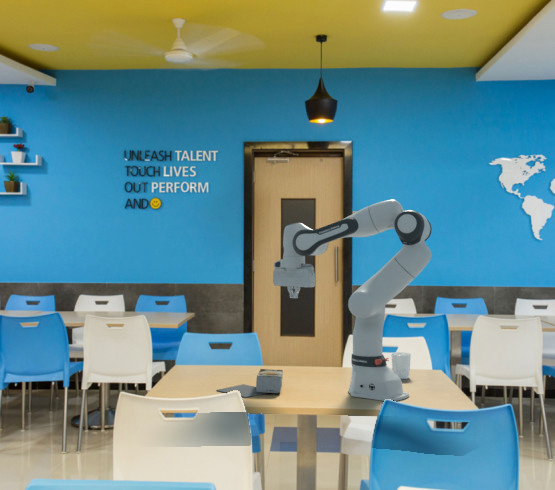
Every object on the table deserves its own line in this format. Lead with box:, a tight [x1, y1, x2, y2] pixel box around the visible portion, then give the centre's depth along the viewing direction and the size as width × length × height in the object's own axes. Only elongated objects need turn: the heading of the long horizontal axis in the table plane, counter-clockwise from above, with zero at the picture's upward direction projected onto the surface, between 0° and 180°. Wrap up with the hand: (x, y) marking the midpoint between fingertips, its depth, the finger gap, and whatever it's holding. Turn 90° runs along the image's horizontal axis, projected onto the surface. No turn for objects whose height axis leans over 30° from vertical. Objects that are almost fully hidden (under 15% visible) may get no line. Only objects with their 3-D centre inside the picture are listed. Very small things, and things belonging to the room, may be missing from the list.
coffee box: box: [255, 368, 283, 394], centre depth 221 cm, size 9×6×16 cm
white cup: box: [391, 351, 412, 380], centre depth 246 cm, size 8×8×10 cm
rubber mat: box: [216, 384, 266, 399], centre depth 219 cm, size 16×14×1 cm
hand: (293, 298), depth 234 cm, fingers closed
